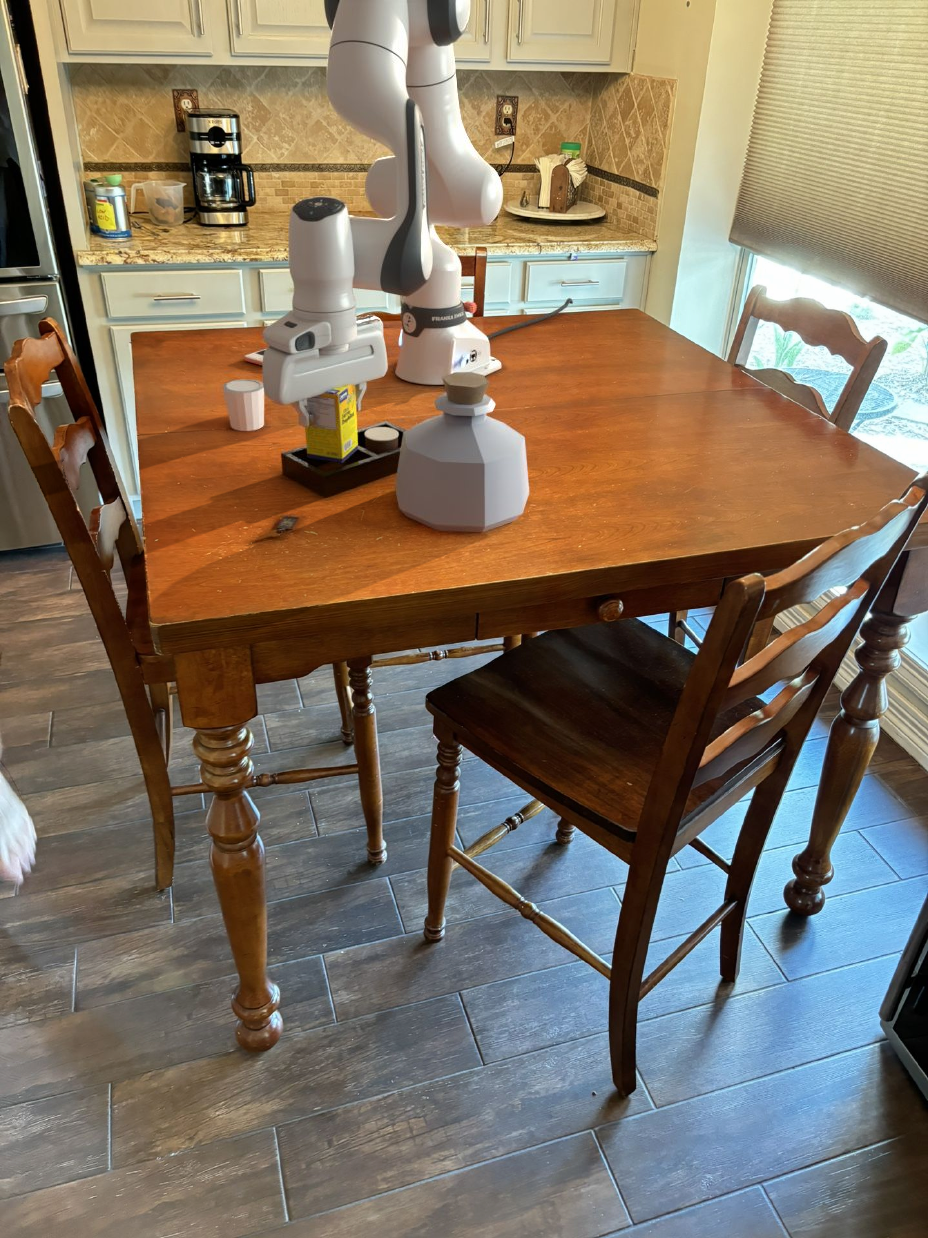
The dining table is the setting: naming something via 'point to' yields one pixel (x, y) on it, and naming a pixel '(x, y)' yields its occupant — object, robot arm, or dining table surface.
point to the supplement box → (332, 425)
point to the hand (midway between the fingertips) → (330, 418)
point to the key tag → (281, 527)
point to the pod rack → (356, 473)
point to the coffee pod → (381, 439)
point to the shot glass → (245, 404)
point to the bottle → (462, 463)
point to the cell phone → (255, 357)
